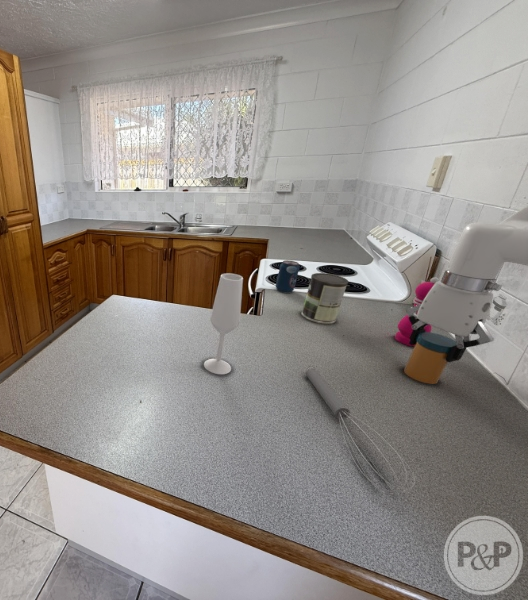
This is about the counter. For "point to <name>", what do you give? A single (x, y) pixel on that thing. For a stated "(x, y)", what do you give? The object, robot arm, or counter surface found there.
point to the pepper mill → (405, 323)
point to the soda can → (287, 276)
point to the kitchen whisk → (343, 413)
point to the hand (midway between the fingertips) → (431, 351)
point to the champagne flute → (225, 316)
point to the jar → (425, 364)
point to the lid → (435, 342)
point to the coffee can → (324, 297)
